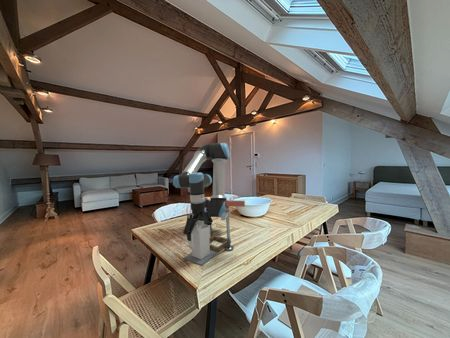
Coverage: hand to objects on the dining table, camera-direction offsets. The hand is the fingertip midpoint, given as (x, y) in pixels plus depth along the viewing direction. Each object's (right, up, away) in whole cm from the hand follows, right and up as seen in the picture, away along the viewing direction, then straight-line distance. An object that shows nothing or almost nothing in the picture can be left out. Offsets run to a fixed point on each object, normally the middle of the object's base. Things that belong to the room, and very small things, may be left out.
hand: (200, 241), depth 99 cm
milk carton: (0, -8, +1) cm, 8 cm away
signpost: (+19, -6, +1) cm, 20 cm away
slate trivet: (0, -8, 0) cm, 8 cm away
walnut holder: (+8, -7, +12) cm, 16 cm away
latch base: (+16, -7, +7) cm, 19 cm away
